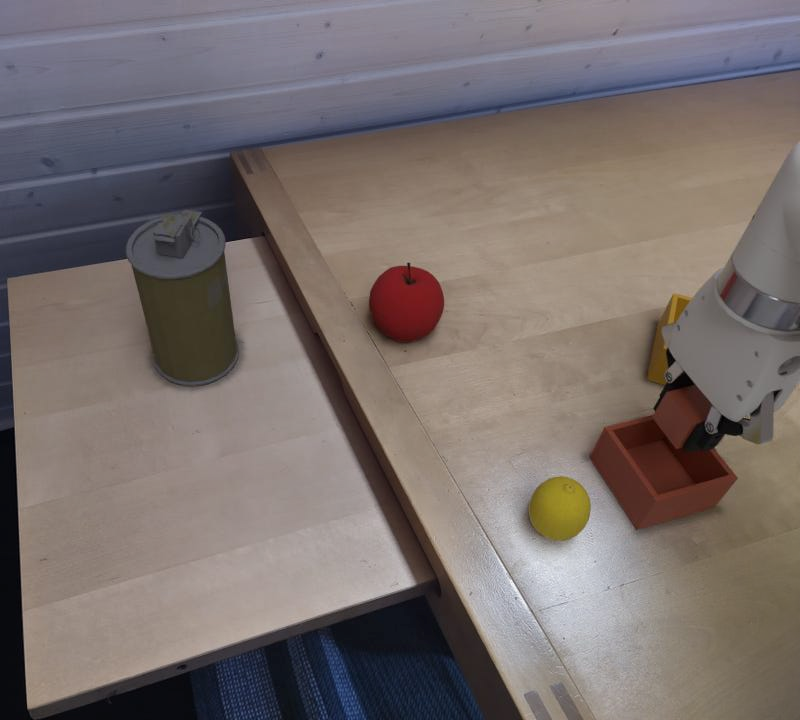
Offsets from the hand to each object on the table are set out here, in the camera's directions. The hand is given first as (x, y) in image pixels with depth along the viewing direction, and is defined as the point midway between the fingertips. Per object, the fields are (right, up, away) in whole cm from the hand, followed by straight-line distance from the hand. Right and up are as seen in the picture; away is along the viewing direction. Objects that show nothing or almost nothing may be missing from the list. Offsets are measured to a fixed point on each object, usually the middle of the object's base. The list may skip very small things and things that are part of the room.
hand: (682, 426), depth 69 cm
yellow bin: (+11, +6, +18) cm, 22 cm away
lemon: (-12, -11, +3) cm, 16 cm away
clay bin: (0, -7, +7) cm, 9 cm away
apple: (-24, +10, +22) cm, 35 cm away
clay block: (0, 0, 0) cm, 0 cm away
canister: (-50, +7, +20) cm, 54 cm away
